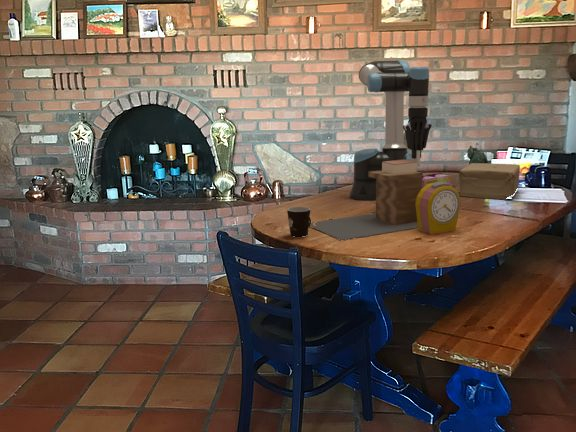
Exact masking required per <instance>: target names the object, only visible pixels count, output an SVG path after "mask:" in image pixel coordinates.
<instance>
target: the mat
mask: <svg viewBox="0 0 576 432" xmlns="http://www.w3.org/2000/svg"><path fill="white" fill-rule="evenodd" d="M311 222H312V223H311V224H310V226H311V227H313V228H315V229H318V230H320V231H322V232H324V233H327V234H329V235H331V236H333V237H332V238H334V237H336V238H338V239H340V240H339V241H341V240H344V241H346V240H345V239H350V240H354V239H353V238H356V239H361V237H362V238H367V237H373V236H374V237H375V236H379V235H384V234H390V233H397V232H402V231H403V232H404V231H410V230H415V229H418V223H417V222H412V223H406V224H400V225H395V224H392V223H389V222H386V221H384V220H381V219H378V218H376V212H375V213H368V214H360V215H354V216H347V217H340V218H333V219H327V220H320V221H316V222H317V223H315V225H316V226H314V225H313V223H314V222H315V221H311ZM311 227H310V228H311ZM313 228H312V229H313ZM315 229H314V230H315ZM318 230H317V231H318ZM320 231H319V232H320ZM322 232H321V233H322ZM324 233H323V234H324ZM327 234H326V235H327ZM329 235H328V236H329ZM331 236H330V237H331ZM336 238H335V239H336ZM338 239H337V240H338Z"/></svg>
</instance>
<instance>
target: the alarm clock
mask: <svg viewBox="0 0 576 432" xmlns="http://www.w3.org/2000/svg"><path fill="white" fill-rule="evenodd" d="M461 201H462V200H461V195H460V193H459V192H458V190H457V189H455V188H454V187H453V186H452V187H450V184H448V183H443V182H437V183H431V184H428V185H426V186H424V187H423V188H422V189H421V190H420V192H419V194H418V195H417V198H416V203H415V206H416V214H417V223H418V228H417V229H418V231H421V232H423V233H427V234H428V235H429V234H430V235H432V234H433V235H434V234H441V233H448V232H454V231H456V229H457V225H458V219H459V213H460V208H461Z"/></svg>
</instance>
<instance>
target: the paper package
mask: <svg viewBox="0 0 576 432" xmlns="http://www.w3.org/2000/svg"><path fill="white" fill-rule="evenodd" d="M520 168H521V166H520V164H515V163H513V164H510V163H488V164H487V163H471V164H469V163H468V165H466V166H465V167H463V168H462V169H461V170H459V173H458V184H459V196H460V197H465V198H467V197H468V198H469V197H470V198H478V199H479V198H481V199H491V200H492V199H493V200H496V199H497V200H504V201H505V199H506V198H507V197H509V196H511V195H513V194H514V193H515V191H516V189H517V188H518V189H519V183H520V173H521V172H520V171H521V170H520Z"/></svg>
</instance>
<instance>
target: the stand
mask: <svg viewBox="0 0 576 432" xmlns="http://www.w3.org/2000/svg"><path fill="white" fill-rule="evenodd" d="M423 176H424V175H423V172H420V171H417V172H410V173H401V174H391V173H386V172H382V170H379V171H369V172H368V177H372V178H376V199H375V213H376V218H378V219H381V220H384V221H386V222H389V223H392V224H395V225H400V224H406V223H412V222H417V214H416V206H415V203H416V198H417V195H418V194H419V192H420V190H421V189H422V178H423Z"/></svg>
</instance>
